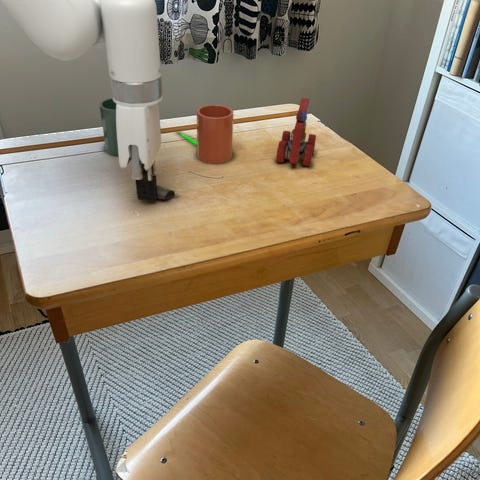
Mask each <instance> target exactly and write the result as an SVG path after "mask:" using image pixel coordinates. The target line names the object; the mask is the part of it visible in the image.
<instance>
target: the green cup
mask: <svg viewBox="0 0 480 480" xmlns="http://www.w3.org/2000/svg"><path fill="white" fill-rule="evenodd" d="M98 105H99V114H100V119H101V120H100V121H101V128H102V134H103V142H104V149H105V151H106V153H108V154H110V155H113V156H118V157H119V154H118V142H117V129H116V105H117V104H116V103H115V102H114V101H113V99H112V97H109V98H105V99H103V100H101V101H100V102H99V103H98Z"/></svg>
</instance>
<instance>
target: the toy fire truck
mask: <svg viewBox="0 0 480 480" xmlns="http://www.w3.org/2000/svg"><path fill="white" fill-rule="evenodd" d="M309 103H310V99H309V98H306V97H302V98H301V99H300V103H299V107H298V111H297V113H296V116H295V119H296V121H295V125H294V128H293V129H292V131H290V130H283V131H282V135H281V140H279V142H278V145H277V150H276V151H277V152H276V162H277V163H285V160H289V163H290V164H294V165H298V162H299V159H300V158H302V165H303V166H306V167H309V166H311V162H312V159H313V158H312V156H313V155H314V152H315V146H316V140H317V135H316V134H313V133H310V134H308V138H307V132H306V130H307V120H308V109H309ZM306 138H307V141H305V140H306Z"/></svg>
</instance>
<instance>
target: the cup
mask: <svg viewBox="0 0 480 480" xmlns="http://www.w3.org/2000/svg"><path fill="white" fill-rule="evenodd" d="M234 114H235V113H234V110H233V109H232V108H231V107H228V106H226V105H222V104H206V105H202V106H200V107H199V108H197V110H196V141H197V146H196V151H197V152H196V153H197V158H198V160H200V161H202V162H205V163H207V164H223V163H224V164H225V163H227V162H229V161H230V160H232V157H233V140H234V138H233V137H234Z"/></svg>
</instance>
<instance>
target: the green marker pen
mask: <svg viewBox="0 0 480 480" xmlns="http://www.w3.org/2000/svg"><path fill="white" fill-rule="evenodd" d="M178 134H180V135H181V137H183V138H184V139H186V140H187V141H188V142H190V143H191V144H193V145H194V146H196V147H197V140H195V139H193V138H191V137H189V136H187V135H185V134H183V133H181V132H178Z"/></svg>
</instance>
